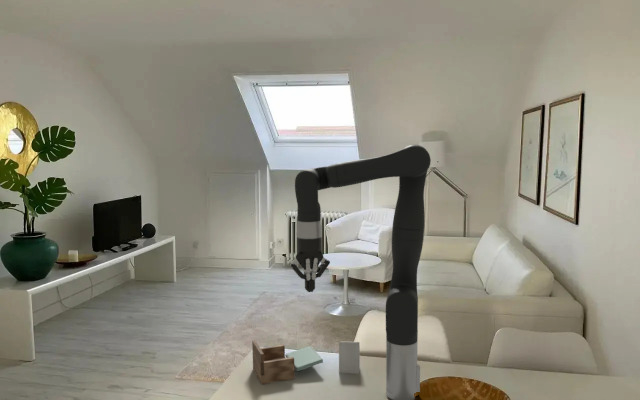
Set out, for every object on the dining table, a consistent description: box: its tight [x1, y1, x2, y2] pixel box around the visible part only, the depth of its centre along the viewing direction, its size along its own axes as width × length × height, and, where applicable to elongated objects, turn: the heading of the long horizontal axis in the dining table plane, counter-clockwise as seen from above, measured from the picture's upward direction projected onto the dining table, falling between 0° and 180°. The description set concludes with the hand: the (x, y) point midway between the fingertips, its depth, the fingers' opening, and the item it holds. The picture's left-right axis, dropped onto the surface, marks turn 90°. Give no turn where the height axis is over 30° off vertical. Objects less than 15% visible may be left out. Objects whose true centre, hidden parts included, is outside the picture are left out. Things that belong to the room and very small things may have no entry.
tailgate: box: [285, 345, 324, 372], centre depth 172 cm, size 1×12×10 cm
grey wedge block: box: [338, 340, 361, 374], centre depth 170 cm, size 4×7×10 cm, turn 84°
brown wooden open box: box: [251, 339, 296, 385], centre depth 168 cm, size 11×12×10 cm
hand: (310, 291), depth 155 cm, fingers closed
